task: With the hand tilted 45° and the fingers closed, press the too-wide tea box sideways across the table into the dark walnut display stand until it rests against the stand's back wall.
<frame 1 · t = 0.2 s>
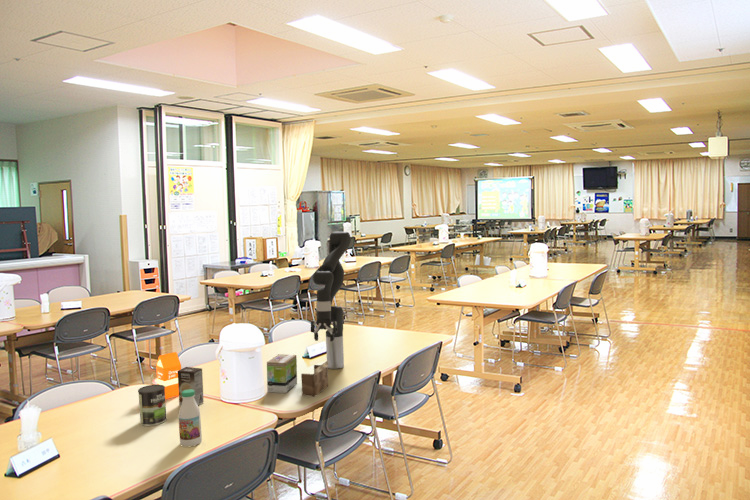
hand: (324, 340, 281), 18 cm above the table, tool pointing down, fingers open, 8 cm apart
coffee can: (153, 421, 225), on the table
orange juice: (170, 395, 258), on the table
tea box: (282, 388, 263), on the table
display stand: (314, 390, 258), on the table
coffee box: (191, 404, 244), on the table
milk bottle: (191, 443, 203), on the table
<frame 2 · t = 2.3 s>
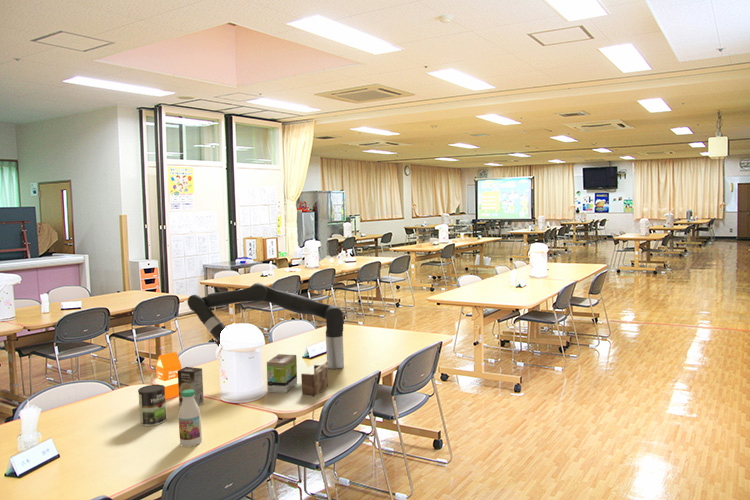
hand: (236, 351, 269), 17 cm above the table, tool tilted 45°, fingers open, 8 cm apart
nothing on the table moved.
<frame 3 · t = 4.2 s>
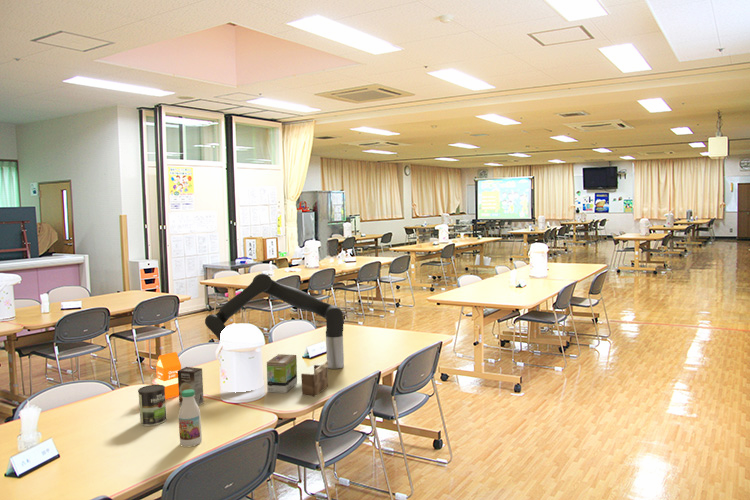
hand: (257, 371, 267), 7 cm above the table, tool tilted 45°, fingers closed
nothing on the table moved.
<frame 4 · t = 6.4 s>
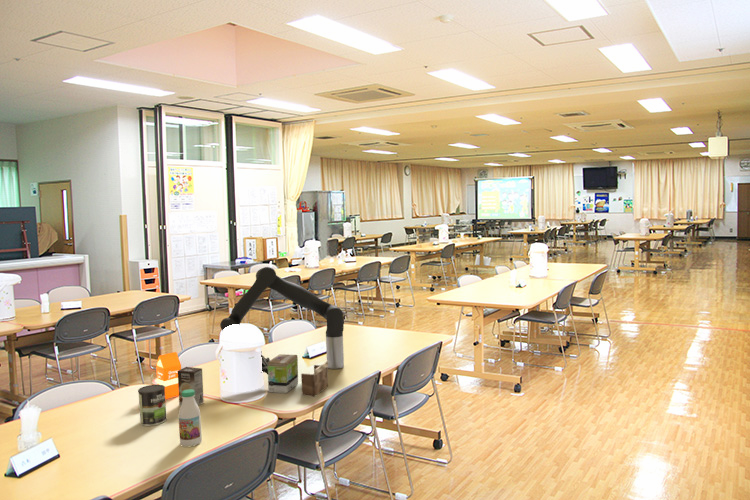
hand: (273, 376, 265), 5 cm above the table, tool tilted 45°, fingers closed
tea box: (283, 388, 263), on the table, touching gripper
everything else where it was.
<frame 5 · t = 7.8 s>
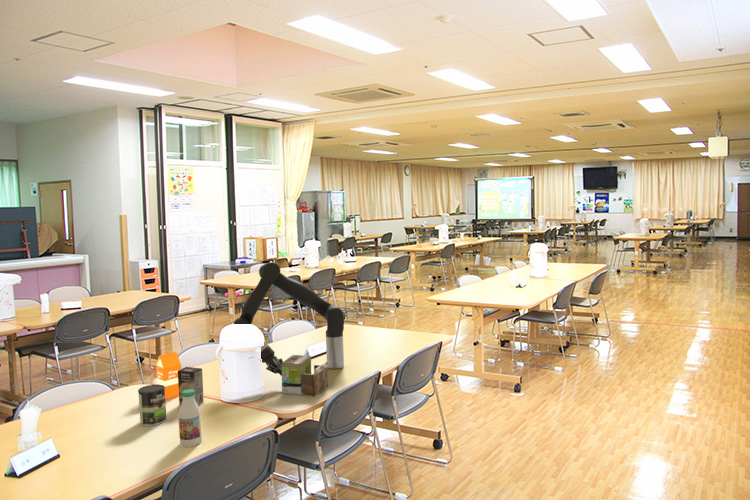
hand: (286, 377, 262), 5 cm above the table, tool tilted 45°, fingers closed
tea box: (297, 389, 261), on the table
everything else where it was.
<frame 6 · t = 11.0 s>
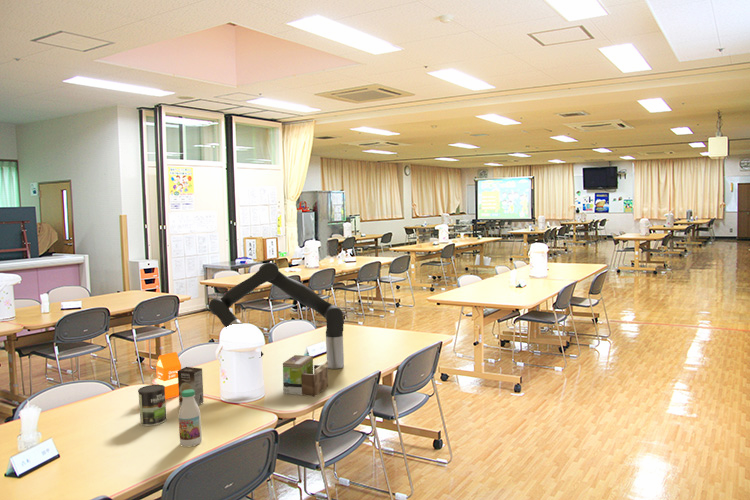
hand: (261, 355, 265), 15 cm above the table, tool tilted 45°, fingers closed
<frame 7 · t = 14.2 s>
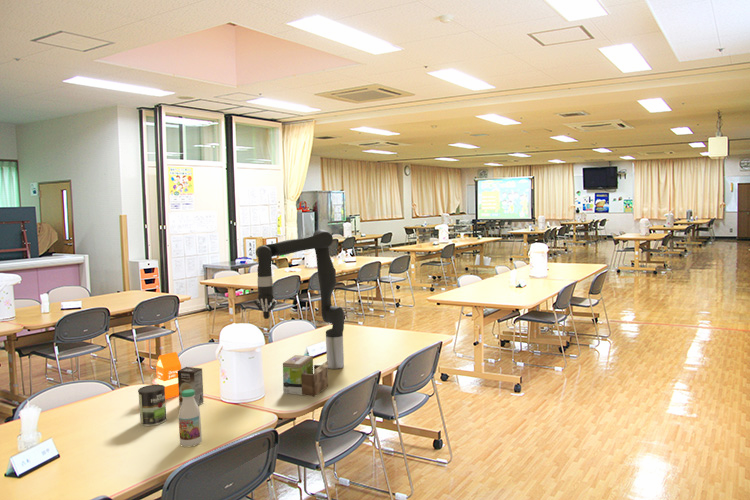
hand: (266, 318, 277), 31 cm above the table, tool pointing down, fingers closed
nothing on the table moved.
at the end: tea box inside the target area (2.7 cm from its centre), on the table; tea box tilted 0°; tea box moved 8.6 cm from its start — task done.
